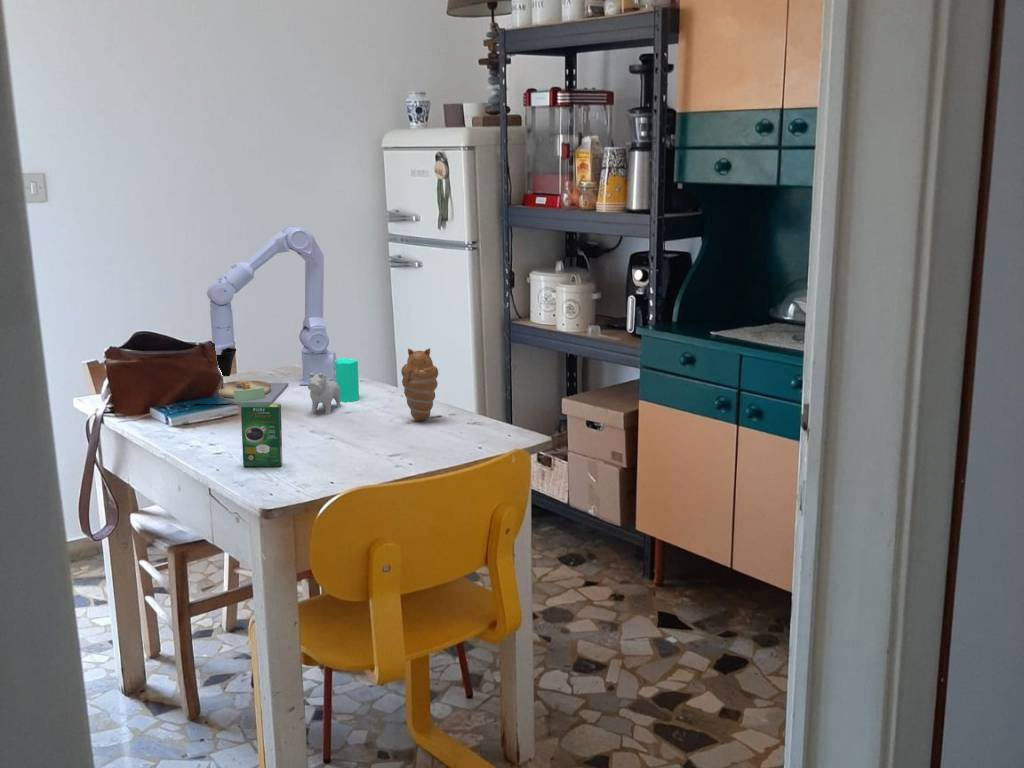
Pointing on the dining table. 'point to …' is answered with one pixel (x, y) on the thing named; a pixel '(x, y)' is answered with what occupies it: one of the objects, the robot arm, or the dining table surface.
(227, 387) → the dial
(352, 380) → the candle
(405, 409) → the dining table surface
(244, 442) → the coffee box
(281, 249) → the robot arm
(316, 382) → the dog figurine
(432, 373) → the cat ice cream
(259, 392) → the pale green block
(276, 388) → the grey flat square board
